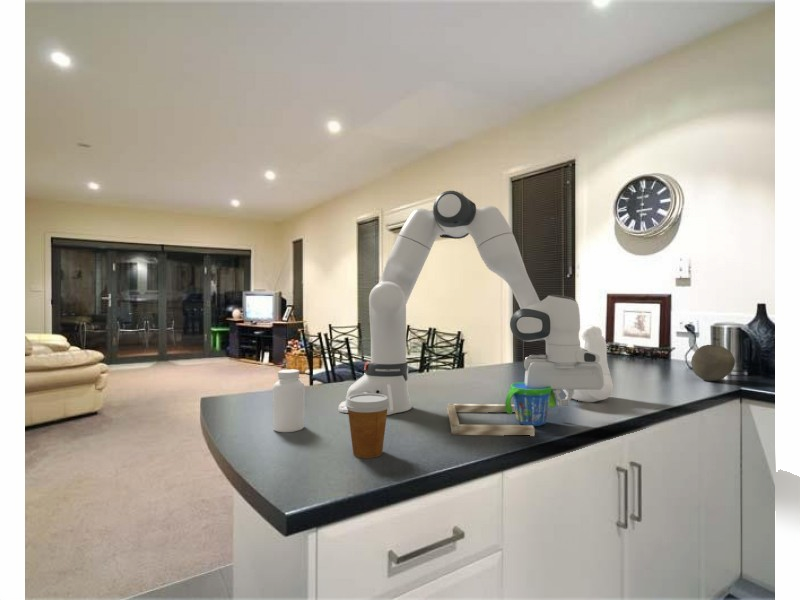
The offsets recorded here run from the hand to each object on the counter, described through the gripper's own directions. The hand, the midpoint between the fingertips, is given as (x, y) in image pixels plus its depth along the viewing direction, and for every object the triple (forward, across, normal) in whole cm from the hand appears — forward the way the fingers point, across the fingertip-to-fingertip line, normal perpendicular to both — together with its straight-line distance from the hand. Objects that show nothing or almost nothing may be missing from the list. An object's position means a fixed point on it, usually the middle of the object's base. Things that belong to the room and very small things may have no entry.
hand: (563, 405), depth 115 cm
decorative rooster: (+5, +13, +28) cm, 31 cm away
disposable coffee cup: (+5, -50, -26) cm, 56 cm away
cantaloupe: (+5, +81, +66) cm, 105 cm away
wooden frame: (+4, -21, 0) cm, 21 cm away
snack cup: (+5, -9, -1) cm, 10 cm away
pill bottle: (+4, -73, -9) cm, 73 cm away
